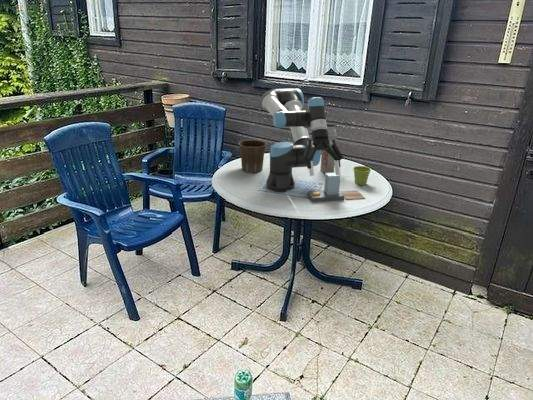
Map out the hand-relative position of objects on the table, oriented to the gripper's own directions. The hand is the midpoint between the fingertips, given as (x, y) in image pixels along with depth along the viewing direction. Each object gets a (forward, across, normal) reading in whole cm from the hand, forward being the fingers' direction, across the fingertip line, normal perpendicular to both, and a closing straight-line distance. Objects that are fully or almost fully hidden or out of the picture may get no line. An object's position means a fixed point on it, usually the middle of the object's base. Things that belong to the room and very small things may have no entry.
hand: (325, 175), depth 181 cm
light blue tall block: (+8, +9, +13) cm, 18 cm away
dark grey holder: (+9, +6, +14) cm, 18 cm away
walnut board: (+9, +20, +12) cm, 25 cm away
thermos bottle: (-12, +28, +45) cm, 54 cm away
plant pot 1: (-18, -13, +61) cm, 65 cm away
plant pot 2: (+1, +35, +24) cm, 42 cm away
